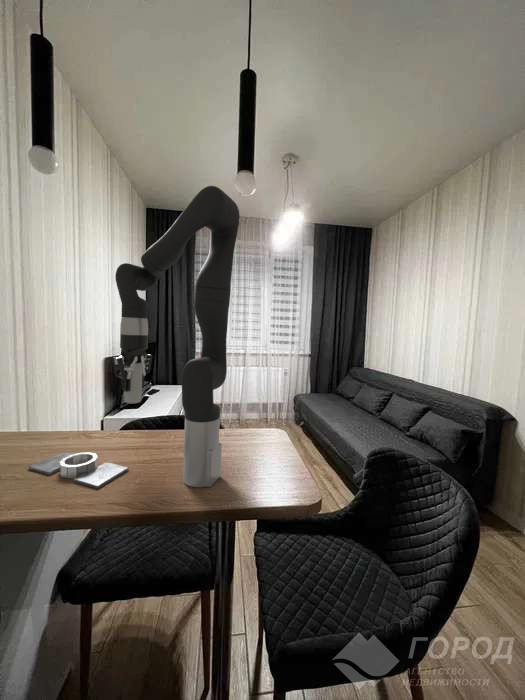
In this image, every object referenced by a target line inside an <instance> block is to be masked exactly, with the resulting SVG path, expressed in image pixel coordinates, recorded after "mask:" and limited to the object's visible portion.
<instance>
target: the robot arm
mask: <svg viewBox="0 0 525 700" xmlns="http://www.w3.org/2000/svg"><path fill="white" fill-rule="evenodd" d="M239 225H240V210H239V207H238V204H236V202H235V201H234V199H232V198H231V197H230V196H229V195H228V194H227V193H226V192H224V190H223V189H221V188H220V187H217V186H216V185H209V186H206V187H203V188H202V189H201V190H200V191H199V192H198V193H197V194H196V195H195V196H194V197H193V198H192V200H191V201H190V202H189V203H188V205H187V206H185V208H184V210H183V211H182V212H181V213H180V215H179V216H178V217H177V218H176V220H175V221H174V222H173V223H172V225H171V226H170V228H168V229H167V231H166V232H165V233H164V234H163V235H162V236H161V237H160V238H159V239H158V240H156V242H154V243H153V244H152V245H150V247H148V248H147V249H146V250H145V251H144V252H143V253H142V255H141V256H140V261H141V265H142V266H140V265H136V264H133V263H129V262H123V263H121V264H119V265H118V266H117V268H116V271H115V277H114V278H115V284H116V288H117V291H118V294H119V295H118V296H119V299H120V302H121V319H120V326H119V327H120V333H119V337H120V338H119V340H120V341H119V349H121V354H120V356H118V357H117V356H113V357H112V365H113V368H114V369H113V370H114V375H115V377H116V378H120V379H121V390H122V392H124V391H126V392H128V391H130V376H131V373H132V372H133V371H134V366H135V364H136V363H142V389H143V388H144V386H145V376H146V375H147V374H150V372H151V366H152V361H153V355H152V354H149V353H148V354H147V352H146V350H147V349H148V348H149V346H148V344H149V323H148V322H149V321H148V310H149V309H148V308H149V307H148V306H149V304H148V301H147V300H145V299H144V298H142V297H140V296H139V294H138V291H141V292H145V291H149V290H150V289H152V288H153V287H154V286H155V285H156V284H157V282H158V281H159V279H160V278H161V276H162V274H163V273H164V272H165V271H166V270H168V269H169V268H170V267H171V266H174V264H175V263H177V262H178V260H179V259H180V258H181V256H182V255H183V253H184V251H185V248H186V245H188V244H187V243H188V241H189V240H190V239H191V237H192V236H193V235H194V234H195V233H197V232H199V231H200V230H202V229H203V228H205V227H206V228H207V229H209V230H210V242H209V243H210V244H209V252H208V255H207V257H206V260H205V261H204V263H203V265H202V267H201V269H200V270H199V272H198V274H197V277H196V280H195V286H194V296H193V297H194V298H193V307H194V312H195V317H196V320H197V323H198V326H199V329H200V333H201V339H202V340H201V341H202V342H201V355H200V357H197V358H193V359H190V360H189V361H187V362H186V363H185V364H184V367H183V369H182V373H181V404H182V408H183V410H184V430H183V431H184V436H183V437H184V438H183V439H184V440H183V468H182V469H183V470H182V474H183V475H182V481H183V483H184V484H185V485H187V486H189V487H192V488H205V487H206V488H212V486H213V485H214V484H215V483H216V482H217V481H218V479H220V477H221V476H222V475H221V474H222V473H221V471H222V470H221V468H222V452H223V451H222V446H223V445H222V443H221V442H220V423H221V421H220V420H221V407H220V406H219V405H218V404H216V403H215V402H214V390H217V389H219V388H220V387H221V386H223V384H224V382H225V380H226V378H227V369H228V367H227V365H228V364H227V336H228V335H227V334H228V326H229V325H228V324H229V311H230V310H229V309H230V303H231V290H232V289H231V287H232V286H231V285H232V284H231V283H232V274H233V263H234V253H235V246H236V242H237V238H238V237H237V236H238V231H239ZM125 365H126V366H130V368H125ZM126 371H127V375H126Z"/></svg>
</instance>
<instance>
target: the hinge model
mask: <svg viewBox="0 0 525 700" xmlns="http://www.w3.org/2000/svg"><path fill="white" fill-rule="evenodd" d="M98 457H99V456H98V455H97V453H94V452H90V451H89V452H87V451H86V452H78V453H72V452H71V453H70V452H66V451H63V452H61V453H58V454H55V455H53V456H50V457H48V458H45V459H44V460H43V459H42V460H40V461H38V462H36V463H33V464H30V465H29V466H28V470H31V471H34V472H37V473H40V474H45V475H47V476H50V475H53V474H55V473H57V472H59V476H60V477H61V478H66V479H73V483H76V484H79V485H83V486H86V487H90V488H94V489H97V490H98V489H100V488H102V487H103V486H106V484H108V483H110V482H111V481H113V480H115V479H116V478H119V476H121V475H123V474H125V473H126V472H128V471H129V467H128V466H123V465H120V464H116V463H111V462H107V461H106V462H103V463H102V464H100V465H98V464H99V463H98V462H99V461H98Z"/></svg>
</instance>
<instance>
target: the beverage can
mask: <svg viewBox="0 0 525 700" xmlns="http://www.w3.org/2000/svg"><path fill="white" fill-rule="evenodd" d="M125 368H130V366H126V365H125ZM126 375H127V371H126ZM123 392H124V393H123V394H124V399H123V401H124V402H125V403H126V404H138V403H141V401H142V399H143V398H142V397H143V388H142V363H136V364H135V366H134V371H133V372H132V373H131V376H130V391H128V392H126V391H123Z"/></svg>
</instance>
